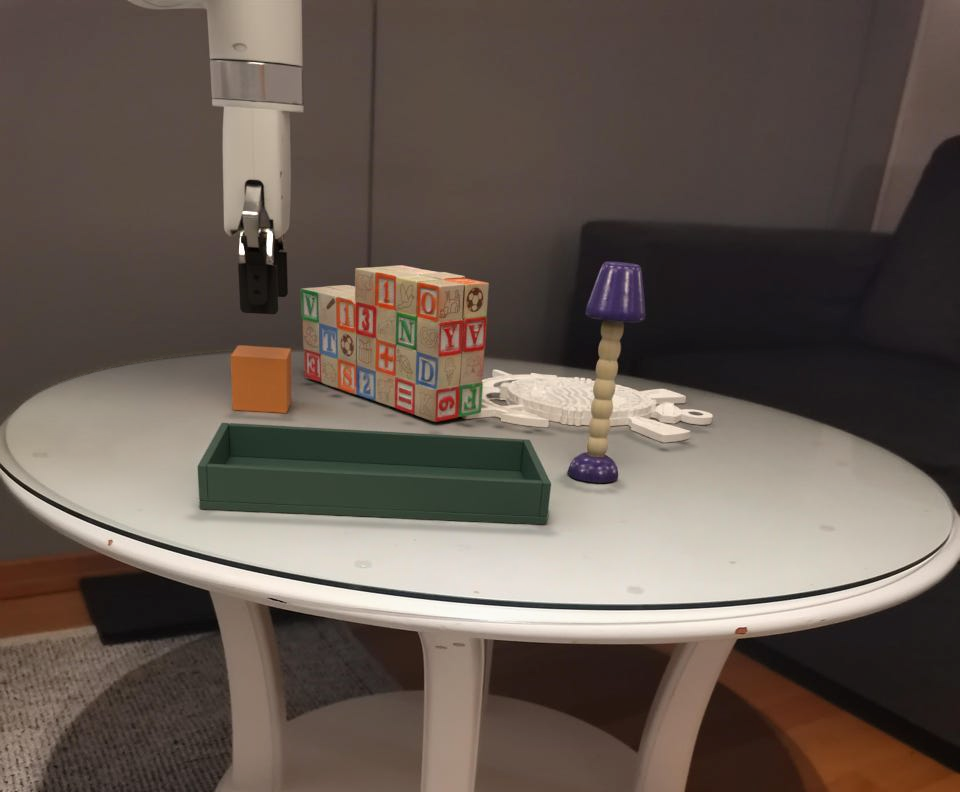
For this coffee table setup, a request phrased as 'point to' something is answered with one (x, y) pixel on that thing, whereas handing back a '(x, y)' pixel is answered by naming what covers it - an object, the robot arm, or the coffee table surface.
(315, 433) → the tray
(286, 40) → the robot arm
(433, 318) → the stack of blocks
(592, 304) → the toy lamp
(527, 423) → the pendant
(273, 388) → the orange block
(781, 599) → the coffee table surface
